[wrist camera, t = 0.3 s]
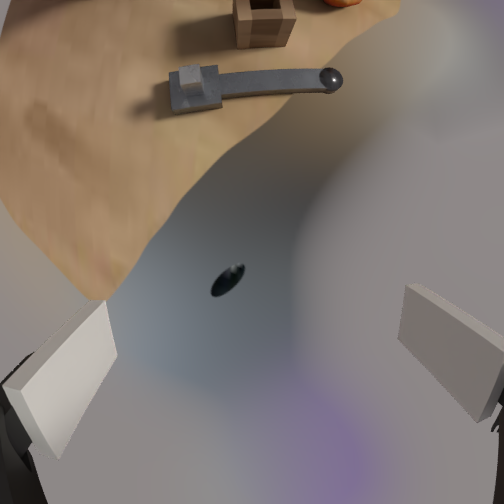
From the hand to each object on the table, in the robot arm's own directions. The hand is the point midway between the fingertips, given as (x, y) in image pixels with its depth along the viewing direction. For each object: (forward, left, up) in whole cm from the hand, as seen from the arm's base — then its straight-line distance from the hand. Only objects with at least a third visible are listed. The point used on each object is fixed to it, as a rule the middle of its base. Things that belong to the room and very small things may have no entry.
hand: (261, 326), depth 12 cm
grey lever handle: (-18, +4, -27) cm, 33 cm away
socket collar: (-27, +5, -27) cm, 39 cm away
